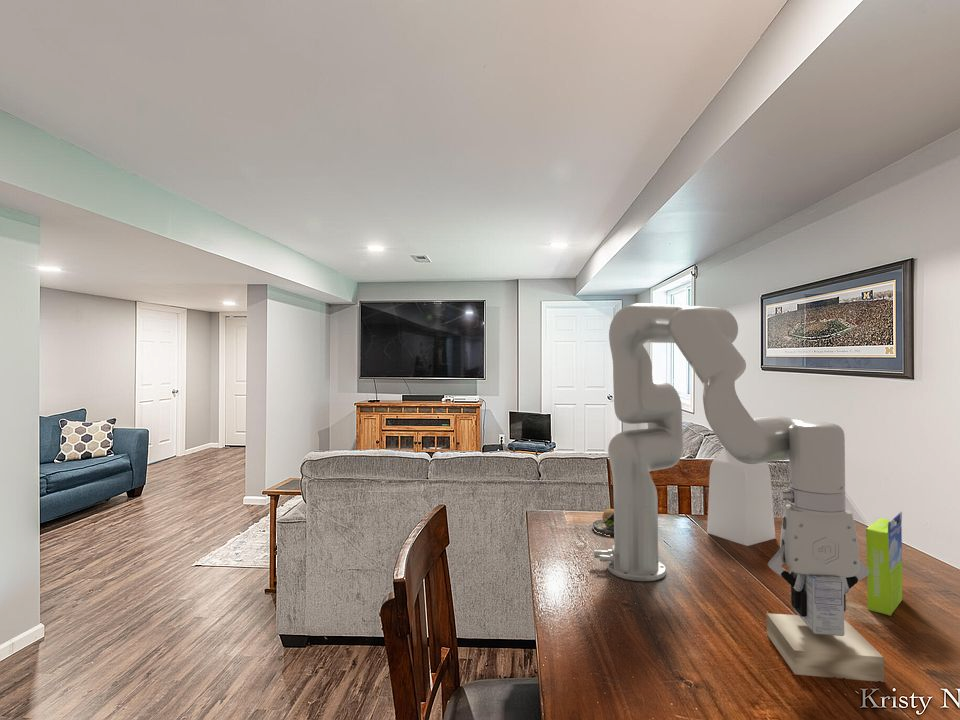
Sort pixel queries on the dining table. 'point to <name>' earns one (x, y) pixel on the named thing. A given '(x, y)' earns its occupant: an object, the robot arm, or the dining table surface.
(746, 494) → the milk
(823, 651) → the maple block
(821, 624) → the medicine box
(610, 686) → the dining table surface
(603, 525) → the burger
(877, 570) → the box
